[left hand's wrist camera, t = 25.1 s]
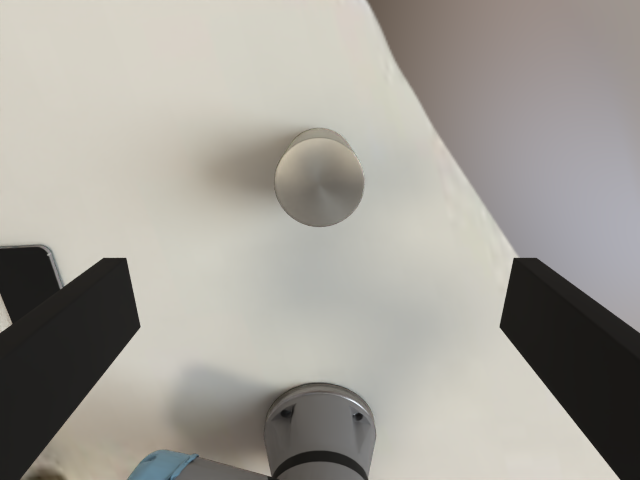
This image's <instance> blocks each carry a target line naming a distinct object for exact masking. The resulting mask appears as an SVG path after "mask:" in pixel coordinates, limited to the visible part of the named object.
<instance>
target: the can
mask: <svg viewBox="0 0 640 480" xmlns="http://www.w3.org/2000/svg"><path fill="white" fill-rule="evenodd" d="M364 186H365V178H364V172H363V168H362V166H361V163H360V161H359V160H358V158H357V156H356V155H355V153H354V152H353V150H352V149H351V147H350V146H349V144H348V143H347V141H346V140H345V139H344V138H343V137H342V136H341V135H339V134H338V133H336V132H334V131H332V130H329V129H324V128H315V129H310V130H307V131H305V132H303V133H301V134H300V135H298V136H297V137H296V138H295V139H294V140H293V142H292V143H291V144H290V146H289V147H288V149H287V150H286V152H285V153H284V155H283V156H282V158H281V159H280V161H279V163H278V165H277V168H276V172H275V177H274V187H275V192H276V196H277V199H278V201H279V203H280V205H281V206H282V208H283V209H284V211H285V212H286V213H287V214H288V215H289V216H291V217H292V218H293V219H295V220H296V221H298V222H300V223H302V224H305V225H308V226H314V227H325V226H331V225H334V224H337V223H339V222H341V221H343V220H344V219H346V218H347V217H348V216H350V215H351V214H352V213H353V212H354V210H355V209H356V208H357V206H358V205H359V203H360V201H361V199H362V196H363V192H364Z"/></svg>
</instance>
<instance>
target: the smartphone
mask: <svg viewBox="0 0 640 480" xmlns="http://www.w3.org/2000/svg"><path fill="white" fill-rule="evenodd" d="M62 288H63V286H62V284H61V281H60V278H59V275H58V272H57V269H56V266H55V263H54V260H53V257H52V254H51V252H50V250H49V249H48V248H46V247H45V246H42V245H34V246H14V247H0V294H1V296H2V299H3V301H4V304H5V306H6V309H7V311H8V314H9V316H10V318H11V321H12V323H13V324H14V323H15V322H16V321H18V320H19V319H20V318H22V317H23V316H25V315H26V314H27V313H29V312H30V311H31V310H33V309H34V308H36V307H37V306H38V305H40V304H41V303H42V302H44V301H45V300H47V299H48V298H49V297H51V296H52V295H53V294H55V293H56V292H58V291H59V290H60V289H62Z"/></svg>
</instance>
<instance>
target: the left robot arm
mask: <svg viewBox="0 0 640 480" xmlns="http://www.w3.org/2000/svg"><path fill="white" fill-rule="evenodd" d="M139 328H140V322H139V317H138V313H137V308H136V303H135V298H134V293H133V288H132V284H131V279H130V274H129V269H128V264H127V259H126V258H103V259H101V260H100V261H99V262H97V263H96V264H95V265H93V266H92V267H90V268H89V269H88V270H86V271H85V272H84V273H82V274H81V275H79V276H78V277H77V278H75V279H74V280H73V281H71V282H70V283H68V284H67V285H66V286H64V287H63V288H62V289H60V290H59V291H58V292H56V293H55V294H53V295H52V296H51V297H49V298H48V299H47V300H45V301H44V302H42V303H41V304H40V305H38V306H37V307H36V308H34V309H33V310H31V311H30V312H29V313H27V314H26V315H25V316H23V317H22V318H20V319H19V320H18V321H16V322H15V323H14V324H12V325H11V326H9V327H8V328H7V329H5V330H4V331H3V332H1V333H0V480H20V479H21V477H22V476H23V475H24V474H25V472H26V471H27V470H28V469H29V467H30V466H31V465H32V463H33V462H34V461H35V460H36V458H37V457H38V456H39V455H40V453H41V452H42V451H43V450H44V448H45V447H46V446H47V445H48V443H49V442H50V441H51V439H52V438H53V437H54V436H55V434H56V433H57V432H58V431H59V429H60V428H61V427H62V426H63V424H64V423H65V422H66V421H67V419H68V418H69V417H70V415H71V414H72V413H73V412H74V410H75V409H76V408H77V407H78V405H79V404H80V403H81V402H82V400H83V399H84V398H85V397H86V395H87V394H88V393H89V391H90V390H91V389H92V388H93V386H94V385H95V384H96V383H97V381H98V380H99V379H100V378H101V376H102V375H103V374H104V373H105V371H106V370H107V369H108V367H109V366H110V365H111V364H112V362H113V361H114V360H115V359H116V357H117V356H118V355H119V354H120V352H121V351H122V350H123V349H124V347H125V346H126V345H127V343H128V342H129V341H130V340H131V338H132V337H133V336H134V335H135V333H136V332H137V331H138V330H139ZM500 328H501V330H502V331H503V332H504V333H505V335H506V336H507V337H508V338H509V340H510V341H511V342H512V343H513V345H514V346H515V347H516V349H517V350H518V351H519V352H520V354H521V355H522V356H523V357H524V359H525V360H526V361H527V362H528V364H529V365H530V366H531V367H532V369H533V370H534V371H535V373H536V374H537V375H538V376H539V378H540V379H541V380H542V381H543V383H544V384H545V385H546V386H547V388H548V389H549V390H550V391H551V393H552V394H553V395H554V397H555V398H556V399H557V400H558V402H559V403H560V404H561V405H562V407H563V408H564V409H565V410H566V412H567V413H568V414H569V415H570V417H571V418H572V419H573V421H574V422H575V423H576V424H577V426H578V427H579V428H580V429H581V431H582V432H583V433H584V434H585V436H586V437H587V438H588V439H589V441H590V442H591V443H592V445H593V446H594V447H595V448H596V450H597V451H598V452H599V453H600V455H601V456H602V457H603V458H604V460H605V461H606V462H607V463H608V465H609V466H610V467H611V469H612V470H613V471H614V472H615V474H616V475H617V476H618V477H619V479H620V480H640V333H639V332H637V331H636V330H635V329H633V328H632V327H631V326H629V325H628V324H626V323H625V322H624V321H622V320H621V319H620V318H618V317H617V316H615V315H614V314H613V313H611V312H610V311H609V310H607V309H606V308H604V307H603V306H602V305H600V304H599V303H598V302H596V301H595V300H593V299H592V298H591V297H589V296H588V295H587V294H585V293H584V292H582V291H581V290H580V289H578V288H577V287H576V286H574V285H573V284H571V283H570V282H569V281H567V280H566V279H565V278H563V277H562V276H560V275H559V274H558V273H556V272H555V271H554V270H552V269H551V268H550V267H548V266H547V265H545V264H544V263H543V262H541V261H540V260H539V259H537V258H514V259H513V264H512V269H511V274H510V279H509V284H508V288H507V293H506V298H505V303H504V308H503V312H502V317H501V322H500ZM375 440H376V429H375V423H374V418H373V414H372V412H371V410H370V408H369V406H368V405H367V403H366V402H365V401H364V400H363V399H362V398H361V397H360V396H358V395H357V394H355V393H354V392H352V391H350V390H348V389H346V388H343V387H340V386H337V385H332V384H308V385H303V386H300V387H297V388H294V389H292V390H290V391H288V392H286V393H284V394H283V395H281V396H280V397H279V398H278V399H277V400H276V401H275V402H274V403H273V404H272V406H271V407H270V409H269V411H268V414H267V417H266V422H265V428H264V441H265V446H266V451H267V456H268V461H269V466H270V471H271V476H272V477H269V476H266V475H262V474H259V473H255V472H251V471H248V470H244V469H240V468H237V467H233V466H229V465H226V464H222V463H218V462H215V461H211V460H207V459H204V458H200V457H199V455H197V454H192V455H188V454H183V453H179V452H174V451H169V450H158V451H155V452H153V453H151V454H149V455H148V456H146V457H145V458H144V459H143V460H142V461H141V462H140V463H139V464H138V466H137V467H136V468H135V469H134V471H133V472H132V474H131V475H130V476H129V478H128V479H127V480H368V475H369V470H370V465H371V460H372V455H373V450H374V445H375Z"/></svg>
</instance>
